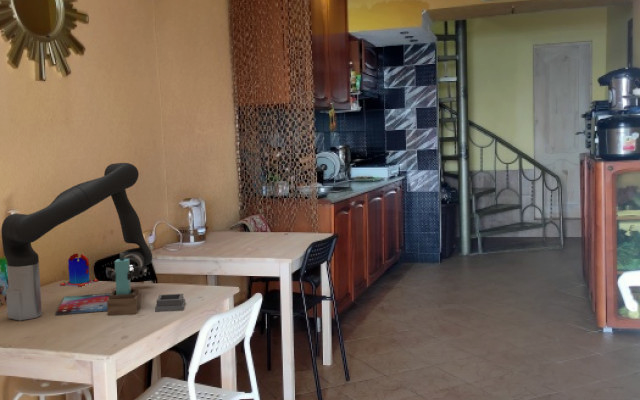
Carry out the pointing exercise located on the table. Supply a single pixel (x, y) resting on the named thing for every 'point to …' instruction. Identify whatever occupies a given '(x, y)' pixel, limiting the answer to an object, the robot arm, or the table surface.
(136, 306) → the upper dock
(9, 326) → the table surface
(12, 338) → the table surface
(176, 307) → the lower dock
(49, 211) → the robot arm
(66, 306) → the tablet
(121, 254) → the plug block
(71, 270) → the fantasy tower
